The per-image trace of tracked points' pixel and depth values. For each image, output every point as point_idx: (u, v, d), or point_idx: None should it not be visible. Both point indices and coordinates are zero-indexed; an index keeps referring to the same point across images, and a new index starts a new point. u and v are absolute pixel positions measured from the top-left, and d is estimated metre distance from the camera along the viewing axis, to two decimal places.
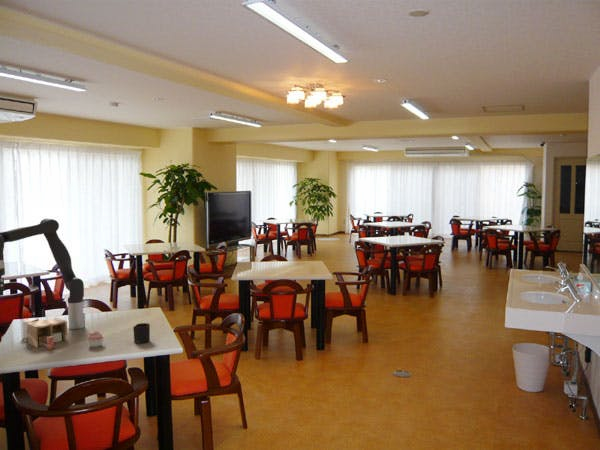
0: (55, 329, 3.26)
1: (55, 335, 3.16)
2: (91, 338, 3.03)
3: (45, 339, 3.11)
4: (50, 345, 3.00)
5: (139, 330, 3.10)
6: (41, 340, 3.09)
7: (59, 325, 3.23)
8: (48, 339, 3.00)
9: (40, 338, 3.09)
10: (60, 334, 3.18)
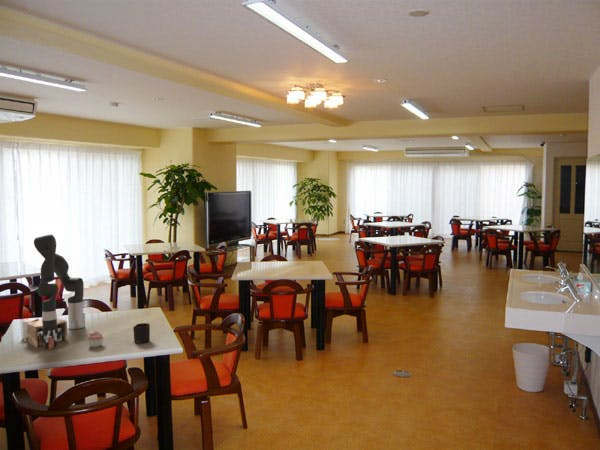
0: None
1: None
2: (91, 338, 3.03)
3: None
4: (50, 345, 3.00)
5: (139, 330, 3.10)
6: None
7: (59, 325, 3.23)
8: (48, 339, 3.00)
9: None
10: None
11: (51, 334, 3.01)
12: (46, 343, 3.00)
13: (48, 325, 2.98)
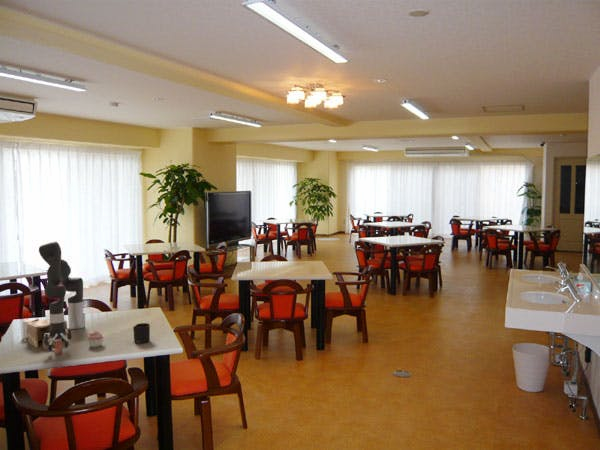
0: None
1: None
2: (91, 338, 3.03)
3: (52, 343, 3.03)
4: (57, 349, 2.93)
5: (139, 330, 3.10)
6: None
7: None
8: (56, 343, 2.92)
9: None
10: None
11: (60, 337, 2.94)
12: (49, 345, 2.90)
13: (56, 327, 2.90)
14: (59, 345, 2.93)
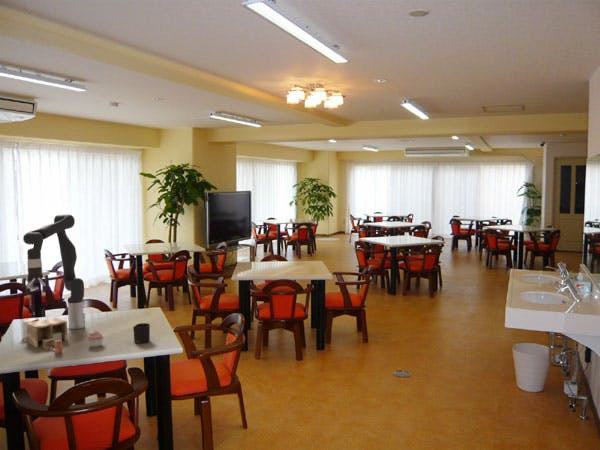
0: (55, 329, 3.26)
1: (55, 335, 3.16)
2: (91, 338, 3.03)
3: (52, 343, 3.03)
4: (57, 349, 2.93)
5: (139, 330, 3.10)
6: (48, 344, 3.02)
7: (59, 325, 3.23)
8: (56, 343, 2.93)
9: (47, 342, 3.01)
10: (60, 334, 3.18)
11: (38, 282, 3.11)
12: (27, 289, 3.08)
13: (33, 272, 3.07)
14: (59, 345, 2.93)
